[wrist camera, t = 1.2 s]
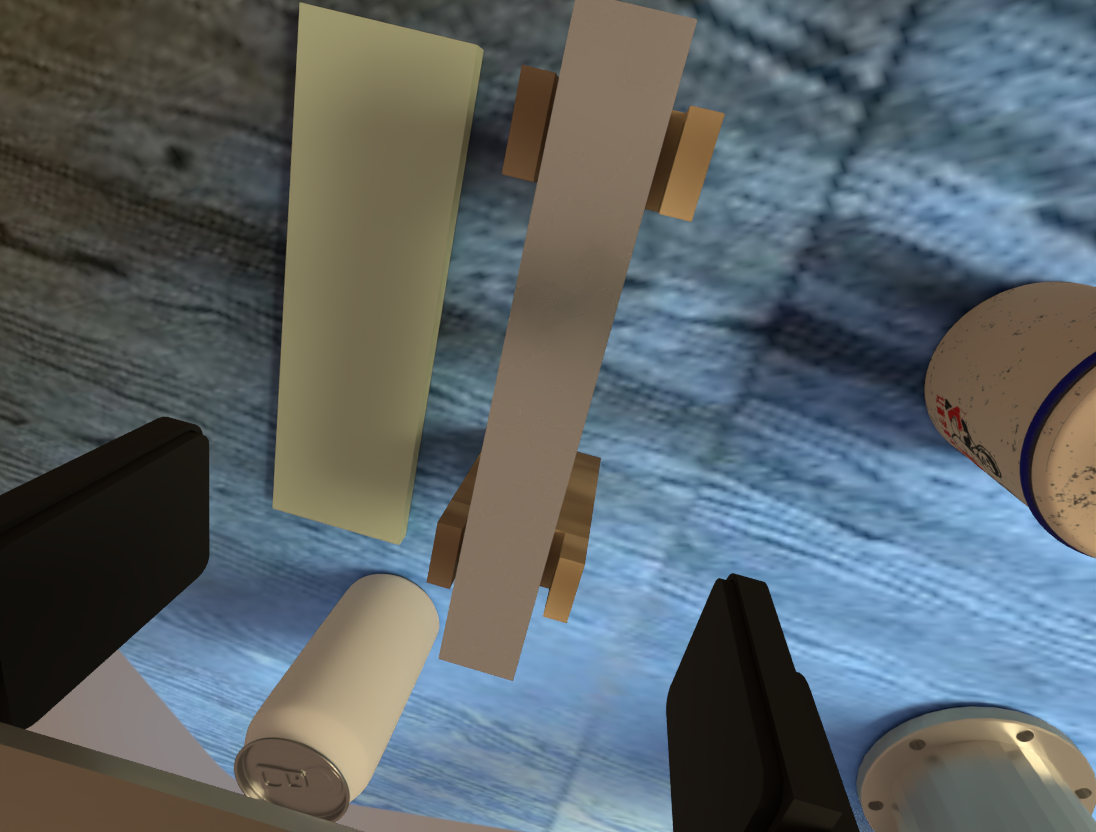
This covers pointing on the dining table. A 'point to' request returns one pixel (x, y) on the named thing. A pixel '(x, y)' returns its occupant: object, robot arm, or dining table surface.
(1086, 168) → the dining table surface
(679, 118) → the post
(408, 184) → the mat
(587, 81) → the rail
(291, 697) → the can
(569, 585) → the post
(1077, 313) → the teacup with lid
